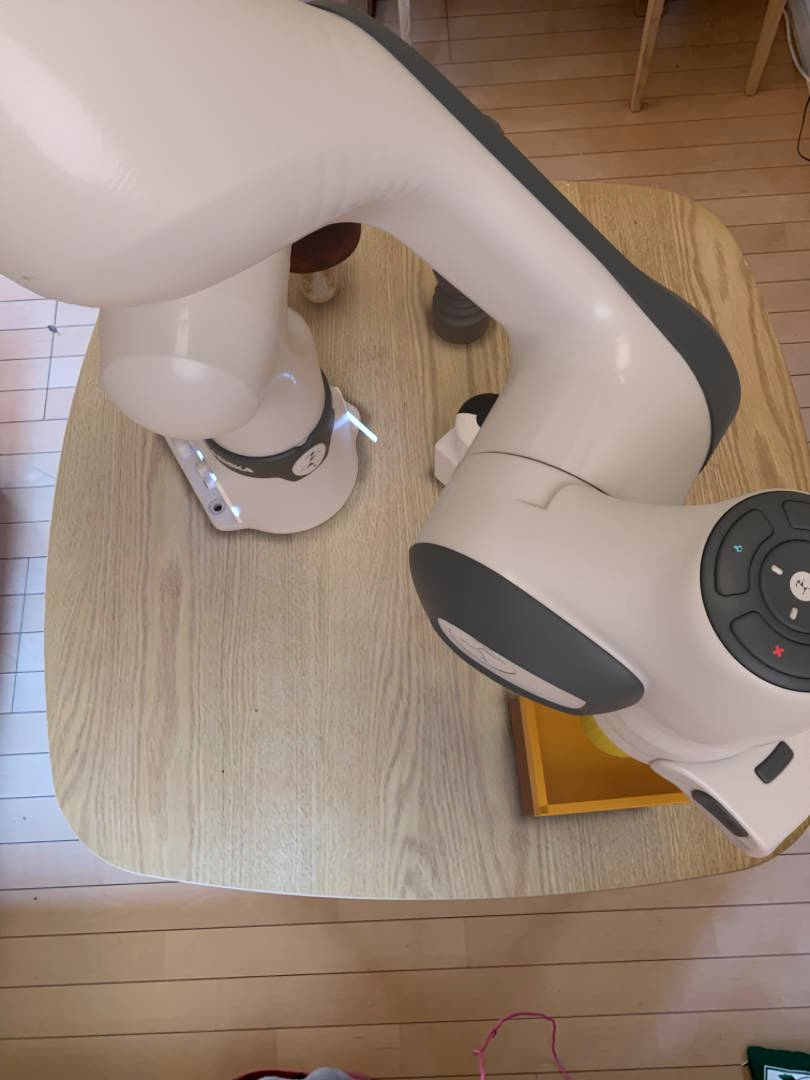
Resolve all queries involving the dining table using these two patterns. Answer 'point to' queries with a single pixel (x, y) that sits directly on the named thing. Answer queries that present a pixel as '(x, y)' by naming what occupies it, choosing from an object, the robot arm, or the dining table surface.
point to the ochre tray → (577, 768)
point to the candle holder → (457, 308)
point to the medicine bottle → (461, 434)
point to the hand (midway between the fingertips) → (619, 717)
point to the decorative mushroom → (323, 258)
